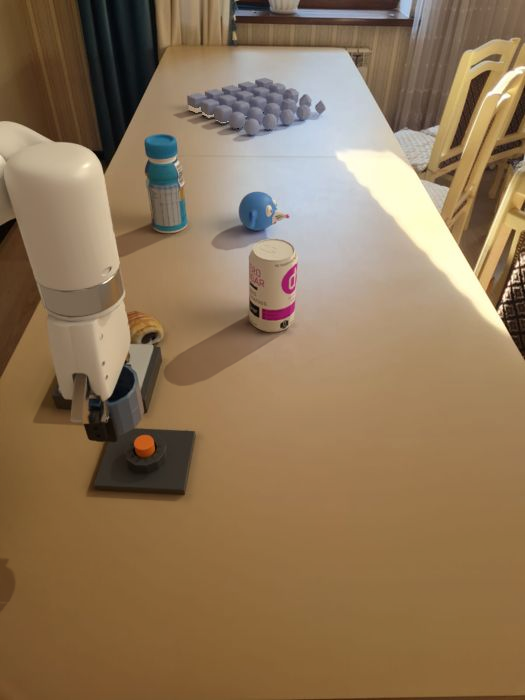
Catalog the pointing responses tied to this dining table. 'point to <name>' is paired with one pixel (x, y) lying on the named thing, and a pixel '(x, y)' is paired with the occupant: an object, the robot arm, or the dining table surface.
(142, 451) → the button
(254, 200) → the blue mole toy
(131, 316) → the pastry
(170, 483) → the block
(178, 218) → the beverage bottle
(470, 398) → the dining table surface
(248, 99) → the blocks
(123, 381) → the bowl
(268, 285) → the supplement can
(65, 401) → the scale
